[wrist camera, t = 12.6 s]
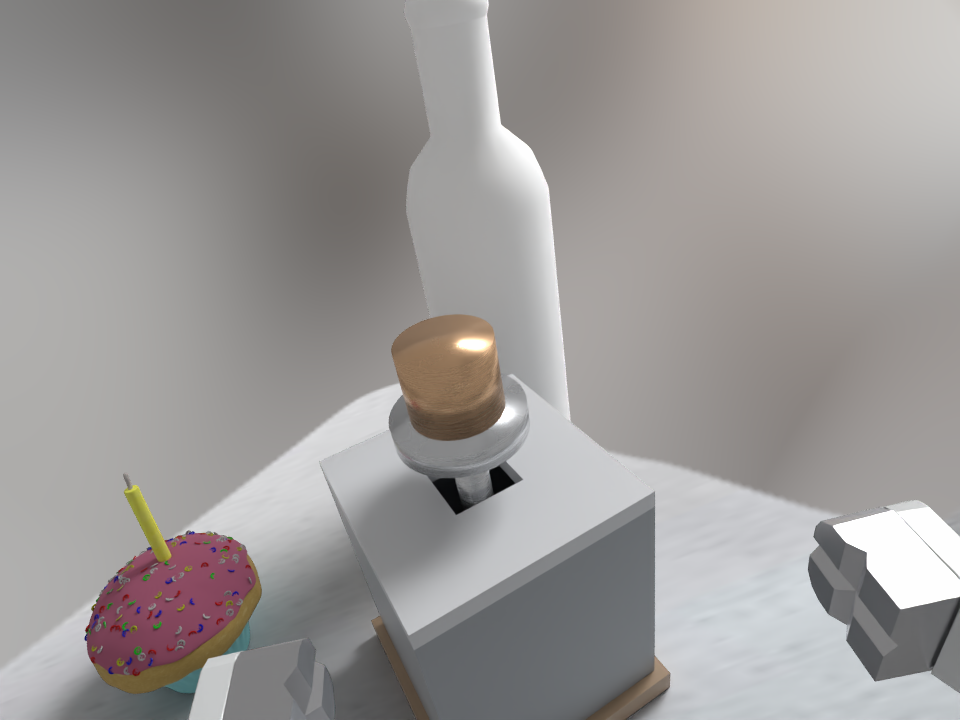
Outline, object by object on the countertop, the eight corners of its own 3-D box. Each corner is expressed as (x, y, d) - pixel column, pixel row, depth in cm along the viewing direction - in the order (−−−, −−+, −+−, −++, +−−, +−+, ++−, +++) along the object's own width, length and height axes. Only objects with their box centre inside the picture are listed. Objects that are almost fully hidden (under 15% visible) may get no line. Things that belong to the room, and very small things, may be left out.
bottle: (441, 475, 44) (317, -8, 28) (510, 415, 48) (438, -30, 32) (529, 524, 39) (441, -30, 23) (597, 452, 43) (564, -53, 27)
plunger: (530, 554, 35) (483, 270, 25) (617, 660, 29) (599, 343, 20) (410, 624, 32) (308, 338, 23) (479, 755, 27) (381, 444, 17)
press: (540, 539, 38) (515, 365, 31) (669, 686, 29) (675, 492, 22) (376, 633, 34) (304, 460, 27) (469, 833, 26) (400, 657, 19)
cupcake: (157, 604, 38) (56, 461, 32) (293, 574, 38) (220, 427, 32) (107, 750, 31) (-38, 604, 24) (274, 711, 31) (175, 557, 25)
